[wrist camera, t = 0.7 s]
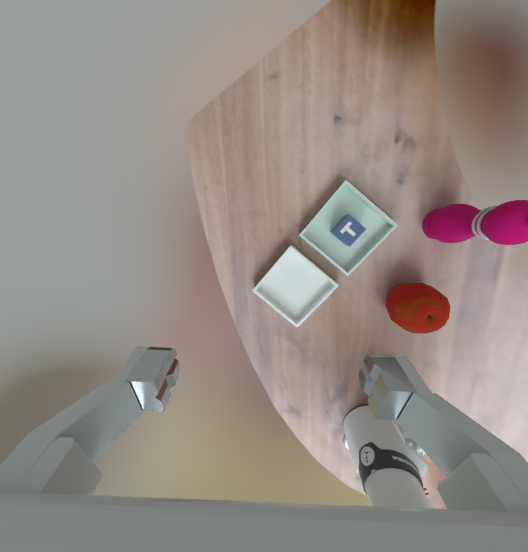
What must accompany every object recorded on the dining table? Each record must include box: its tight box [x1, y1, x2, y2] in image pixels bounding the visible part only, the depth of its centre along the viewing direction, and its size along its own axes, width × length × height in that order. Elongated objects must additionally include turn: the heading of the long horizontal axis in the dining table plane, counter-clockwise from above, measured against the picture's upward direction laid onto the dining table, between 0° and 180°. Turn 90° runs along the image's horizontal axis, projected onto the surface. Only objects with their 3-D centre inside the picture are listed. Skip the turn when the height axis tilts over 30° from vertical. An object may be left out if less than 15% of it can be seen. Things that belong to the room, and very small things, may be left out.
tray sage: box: [299, 180, 399, 276], centre depth 46 cm, size 14×14×3 cm
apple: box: [386, 283, 450, 333], centre depth 43 cm, size 10×10×12 cm
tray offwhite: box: [252, 245, 339, 328], centre depth 51 cm, size 14×14×3 cm
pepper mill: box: [423, 200, 528, 245], centre depth 35 cm, size 7×7×20 cm
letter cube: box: [330, 215, 366, 246], centre depth 44 cm, size 4×4×5 cm
